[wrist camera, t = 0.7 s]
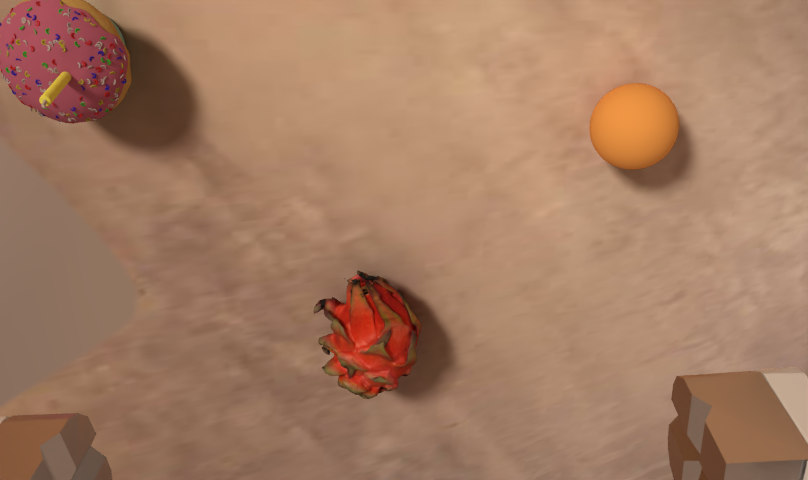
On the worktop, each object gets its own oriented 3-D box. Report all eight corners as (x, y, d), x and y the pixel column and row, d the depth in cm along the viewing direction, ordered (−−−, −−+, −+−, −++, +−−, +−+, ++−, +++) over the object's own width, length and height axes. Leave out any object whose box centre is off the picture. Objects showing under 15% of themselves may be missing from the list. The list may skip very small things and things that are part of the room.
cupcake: (154, -2, 49) (81, 42, 38) (149, 112, 53) (82, 179, 43) (28, -31, 48) (-82, 6, 38) (33, 87, 52) (-64, 149, 42)
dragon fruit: (370, 358, 66) (362, 240, 62) (444, 387, 61) (441, 261, 57) (306, 401, 60) (292, 274, 56) (382, 437, 55) (373, 300, 51)
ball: (582, 76, 51) (600, 104, 46) (667, 68, 50) (695, 95, 45) (581, 153, 54) (598, 187, 49) (661, 146, 53) (687, 179, 48)
